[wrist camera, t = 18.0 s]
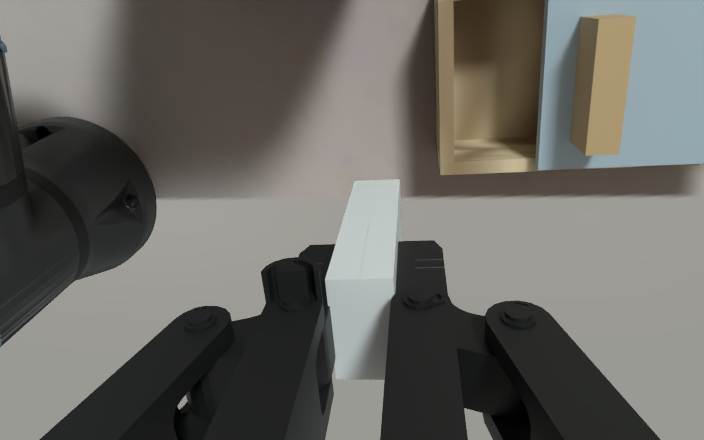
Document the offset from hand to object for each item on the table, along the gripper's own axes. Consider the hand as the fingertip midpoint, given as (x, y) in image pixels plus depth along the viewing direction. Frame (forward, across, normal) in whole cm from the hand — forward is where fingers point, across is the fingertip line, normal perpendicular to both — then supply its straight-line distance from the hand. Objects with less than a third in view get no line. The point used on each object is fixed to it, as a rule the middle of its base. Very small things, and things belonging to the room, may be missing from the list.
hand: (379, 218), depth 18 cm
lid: (+21, +18, +1) cm, 28 cm away
